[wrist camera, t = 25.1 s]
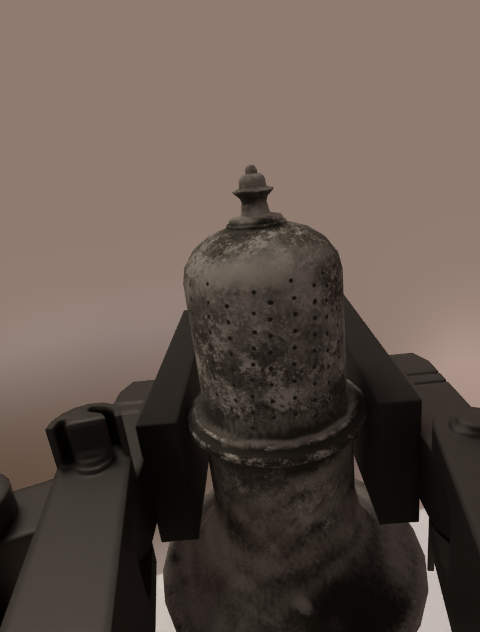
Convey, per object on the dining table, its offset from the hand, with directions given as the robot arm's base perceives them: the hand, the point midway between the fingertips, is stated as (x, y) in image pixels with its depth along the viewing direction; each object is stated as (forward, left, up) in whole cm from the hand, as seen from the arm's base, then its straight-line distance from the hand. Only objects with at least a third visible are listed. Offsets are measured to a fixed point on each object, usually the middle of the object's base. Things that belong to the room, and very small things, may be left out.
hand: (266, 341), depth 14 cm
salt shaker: (0, +5, -7) cm, 9 cm away
